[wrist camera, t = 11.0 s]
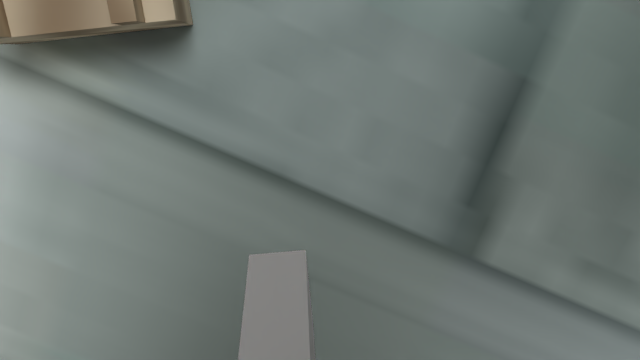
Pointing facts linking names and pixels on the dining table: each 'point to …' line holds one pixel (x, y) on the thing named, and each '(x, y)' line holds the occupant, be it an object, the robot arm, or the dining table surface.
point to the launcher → (86, 18)
